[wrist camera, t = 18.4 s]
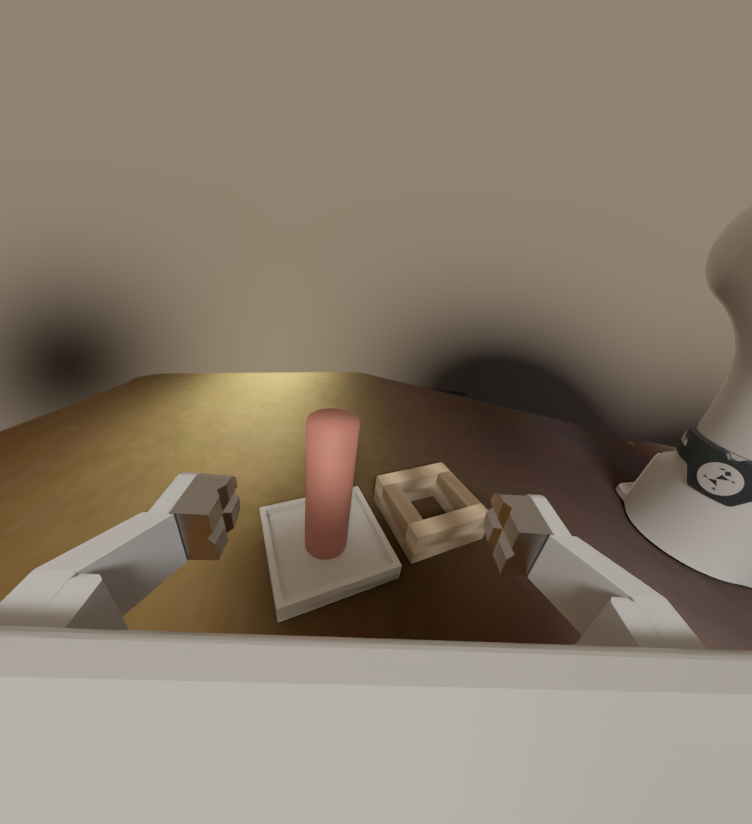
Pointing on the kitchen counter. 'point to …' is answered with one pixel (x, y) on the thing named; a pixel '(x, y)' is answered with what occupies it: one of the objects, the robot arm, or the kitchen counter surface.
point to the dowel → (329, 480)
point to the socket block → (434, 532)
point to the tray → (323, 579)
